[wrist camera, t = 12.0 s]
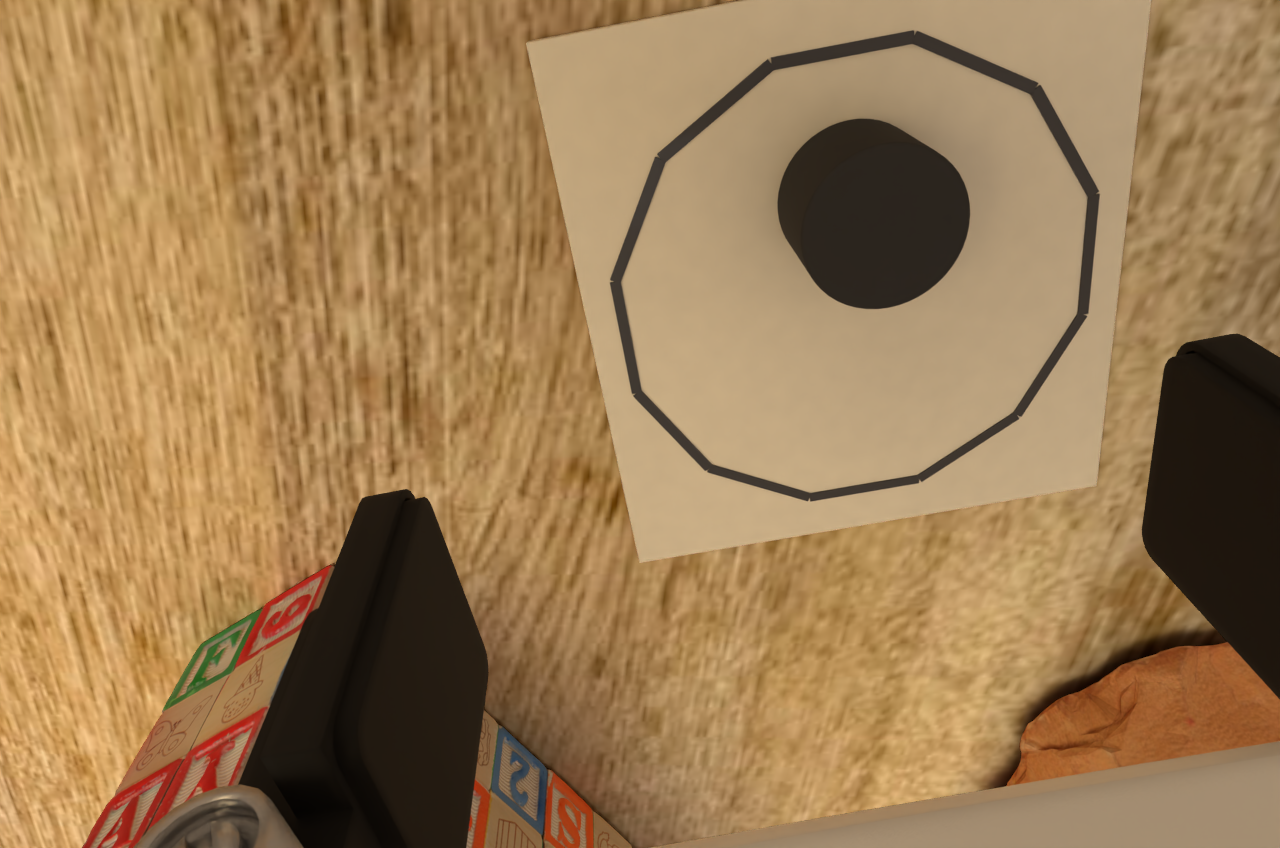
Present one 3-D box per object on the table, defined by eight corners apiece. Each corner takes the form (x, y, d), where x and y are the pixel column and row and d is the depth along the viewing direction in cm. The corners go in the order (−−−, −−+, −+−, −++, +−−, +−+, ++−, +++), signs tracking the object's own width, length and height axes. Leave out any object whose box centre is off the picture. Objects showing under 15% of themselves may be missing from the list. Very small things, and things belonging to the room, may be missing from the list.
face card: (526, 41, 21) (525, 42, 20) (1154, -81, 20) (1163, -81, 20) (638, 557, 29) (639, 564, 28) (1092, 481, 28) (1098, 487, 28)
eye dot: (769, 133, 22) (794, 160, 19) (927, 104, 22) (973, 126, 19) (783, 281, 24) (807, 323, 21) (927, 255, 24) (969, 294, 21)
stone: (960, 832, 40) (970, 1018, 31) (1006, 544, 37) (1033, 658, 27) (1334, 921, 36) (1474, 1166, 27) (1431, 605, 32) (1631, 765, 23)
